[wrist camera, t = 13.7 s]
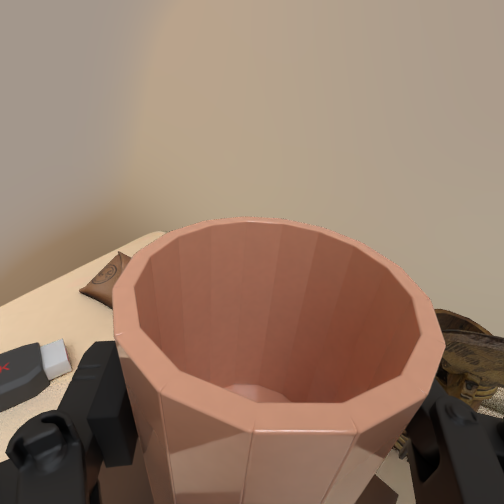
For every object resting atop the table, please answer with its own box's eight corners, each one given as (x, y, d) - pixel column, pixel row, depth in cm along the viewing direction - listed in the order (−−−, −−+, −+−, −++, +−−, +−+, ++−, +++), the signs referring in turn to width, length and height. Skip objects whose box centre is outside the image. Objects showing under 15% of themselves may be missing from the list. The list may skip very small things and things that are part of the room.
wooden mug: (337, 470, 23) (422, 306, 14) (371, 359, 33) (433, 223, 24) (462, 558, 19) (698, 409, 10) (457, 401, 29) (570, 257, 20)
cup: (362, 460, 14) (469, 283, 8) (251, 689, 8) (345, 625, 3) (244, 360, 18) (260, 202, 13) (122, 462, 13) (57, 265, 7)
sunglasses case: (72, 290, 38) (86, 245, 38) (114, 289, 45) (127, 250, 44) (167, 348, 31) (185, 294, 31) (201, 337, 38) (216, 291, 37)
